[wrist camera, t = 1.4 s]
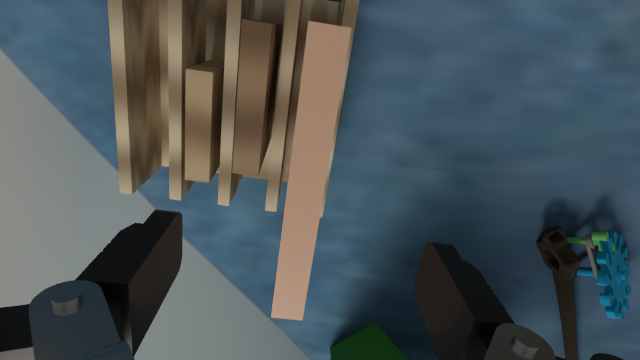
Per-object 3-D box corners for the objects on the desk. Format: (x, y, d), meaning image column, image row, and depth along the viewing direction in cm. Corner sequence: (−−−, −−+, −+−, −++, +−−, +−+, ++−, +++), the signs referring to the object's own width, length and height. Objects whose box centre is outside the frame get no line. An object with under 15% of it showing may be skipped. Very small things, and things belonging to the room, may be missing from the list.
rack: (147, -29, 33) (97, -45, 25) (353, 5, 35) (366, 0, 27) (152, 159, 40) (114, 192, 32) (324, 181, 42) (327, 217, 34)
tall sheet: (309, 22, 34) (308, 20, 13) (326, 24, 34) (351, 27, 14) (291, 164, 39) (270, 317, 19) (306, 166, 39) (302, 320, 19)
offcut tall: (260, 20, 34) (241, 19, 24) (282, 23, 34) (272, 24, 25) (251, 136, 38) (232, 173, 29) (270, 139, 38) (258, 176, 29)
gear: (641, 283, 46) (626, 341, 40) (585, 277, 51) (564, 328, 45) (622, 207, 44) (603, 256, 38) (565, 208, 48) (540, 252, 42)
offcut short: (212, 58, 35) (185, 68, 27) (233, 62, 35) (213, 72, 28) (208, 149, 38) (184, 179, 31) (228, 152, 38) (209, 182, 31)
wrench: (532, 376, 58) (508, 227, 44) (564, 366, 57) (550, 212, 44) (554, 410, 53) (536, 254, 40) (589, 398, 53) (582, 237, 39)
